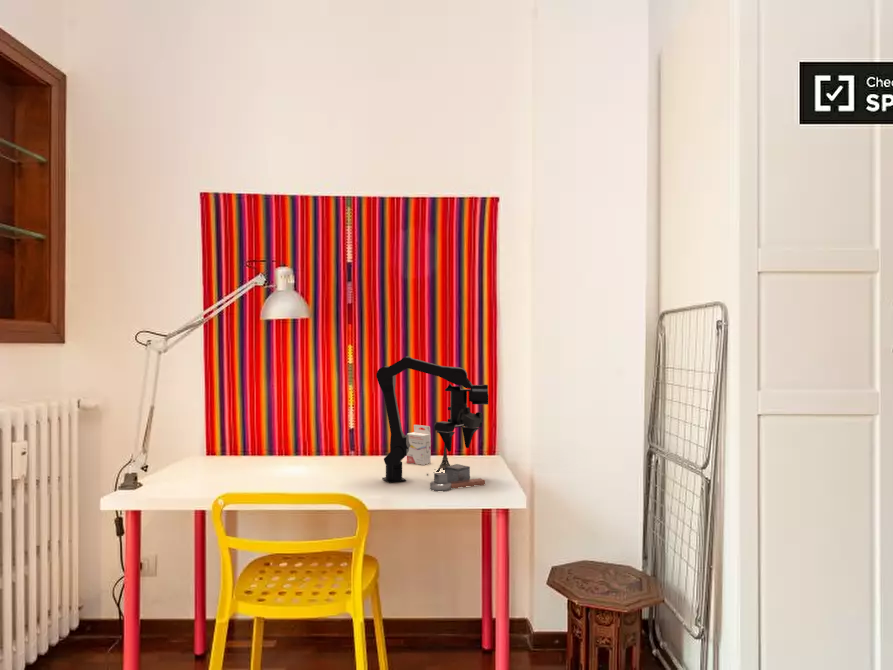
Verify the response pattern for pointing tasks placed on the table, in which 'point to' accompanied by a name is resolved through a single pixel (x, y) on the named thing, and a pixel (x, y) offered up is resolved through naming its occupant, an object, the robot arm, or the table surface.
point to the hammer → (444, 485)
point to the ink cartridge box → (419, 445)
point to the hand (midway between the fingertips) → (458, 449)
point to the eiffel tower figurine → (444, 460)
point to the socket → (457, 472)
